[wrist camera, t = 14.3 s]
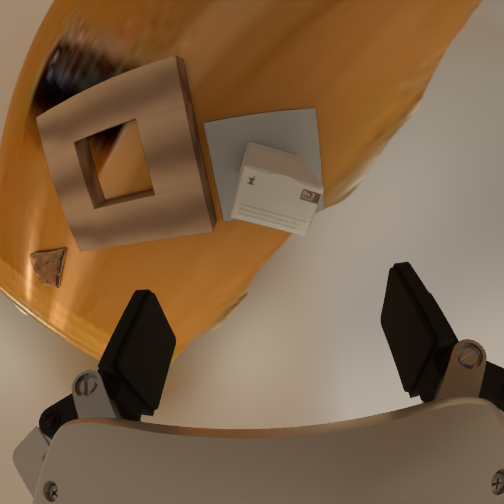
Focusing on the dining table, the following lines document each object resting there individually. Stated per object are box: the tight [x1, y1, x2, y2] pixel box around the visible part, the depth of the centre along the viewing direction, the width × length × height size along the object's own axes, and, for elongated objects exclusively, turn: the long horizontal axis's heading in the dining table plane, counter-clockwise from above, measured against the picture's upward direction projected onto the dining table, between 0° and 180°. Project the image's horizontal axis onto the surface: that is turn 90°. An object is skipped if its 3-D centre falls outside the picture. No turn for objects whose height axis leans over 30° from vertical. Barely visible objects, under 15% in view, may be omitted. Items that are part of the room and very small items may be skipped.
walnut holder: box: [36, 56, 217, 252], centre depth 29 cm, size 20×20×3 cm
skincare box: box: [230, 142, 324, 236], centre depth 24 cm, size 6×4×12 cm
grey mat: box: [204, 108, 324, 221], centre depth 30 cm, size 12×12×1 cm
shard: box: [30, 247, 66, 288], centre depth 39 cm, size 11×8×2 cm
